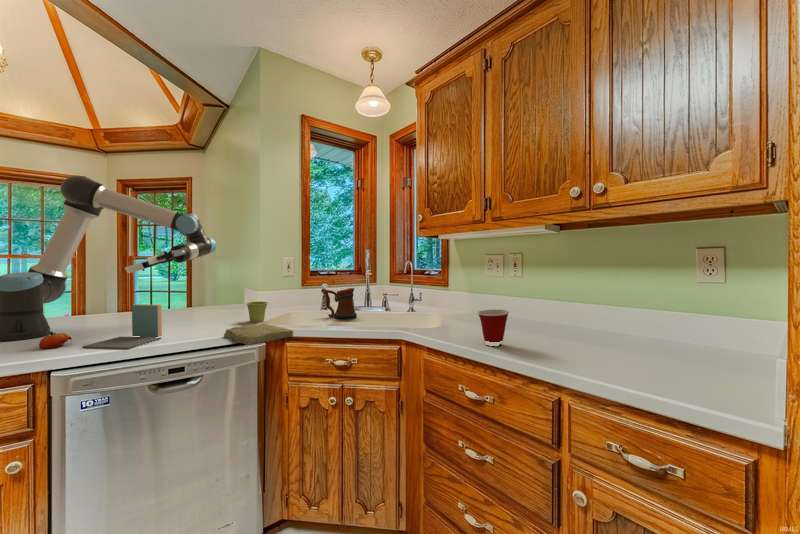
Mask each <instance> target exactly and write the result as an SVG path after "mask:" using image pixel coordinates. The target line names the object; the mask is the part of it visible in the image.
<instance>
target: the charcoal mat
mask: <svg viewBox="0 0 800 534" xmlns="http://www.w3.org/2000/svg"><path fill="white" fill-rule="evenodd" d="M158 339H161V340H162V337H159V338H156V337H132V336H116V337H112V338H109V339H106V340H105V339H104V340H100V341H98V342H94V343H89V344H85V345H82V349H99V348H101V349H102V350H103V349H104V350H105V349H106V350H107V349H109V350H131V349H135V348H137V347H136V346H138V347H140V346H139V345H141V346H143V345H142V344H144V345H146V344H145V343H148V344H150V343H149V342H151V343H153V342H152V341H154V342H156V341H155V340H157V341H159V340H158ZM134 347H135V348H134Z"/></svg>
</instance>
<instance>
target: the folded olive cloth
mask: <svg viewBox="0 0 800 534" xmlns="http://www.w3.org/2000/svg"><path fill="white" fill-rule="evenodd" d="M223 337H224V338H227V339H231V340H232V341H233V340H234V342H236V343H238V344H239V343H240V344H244V345H246V346H252V345H257V344H263V343H268V342H272V341H277V340H281V339H287V338H291V337H294V330H293V329H290V328H289V329H288V328H286V327H281V326H277V325H271V324H268V323H260V324H259V323H258V324H247V325H242V326H234V327H233V326H232V327H231V328H228V329H226V330H225V332H224V333H223Z"/></svg>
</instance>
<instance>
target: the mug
mask: <svg viewBox="0 0 800 534" xmlns="http://www.w3.org/2000/svg"><path fill="white" fill-rule="evenodd" d="M354 291H355V287H350V288H346V289H340V290H337V291H334V290H329V289H325V288H321V290H320V292H321V293H323V294H324V295H325V299H326V300H325V307H326V308H327V309H328V310H330V312H331V313H328V314H327V316H328V317H329V318H334V319H337V320H352V319H356V318H357V317H358V314H357V313H356V311H355V307H354V300H353V299H354ZM329 294H333V296H334V298H333V299H334V301H335V303H338V304H337V308H336V310H335V309H334V308H333V307H332V306H331V297H330V295H329Z"/></svg>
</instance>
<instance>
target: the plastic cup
mask: <svg viewBox="0 0 800 534" xmlns="http://www.w3.org/2000/svg"><path fill="white" fill-rule="evenodd" d="M509 313H510V311H509V310H507V309H497V308H496V309H484V310H479V311H477V314H478V316H479V320H480V324H481V331H482V336H483V341H484V340H485V341H489V342H500V341H504V336H505V330H506V325H507V321H508V315H509Z"/></svg>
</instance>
